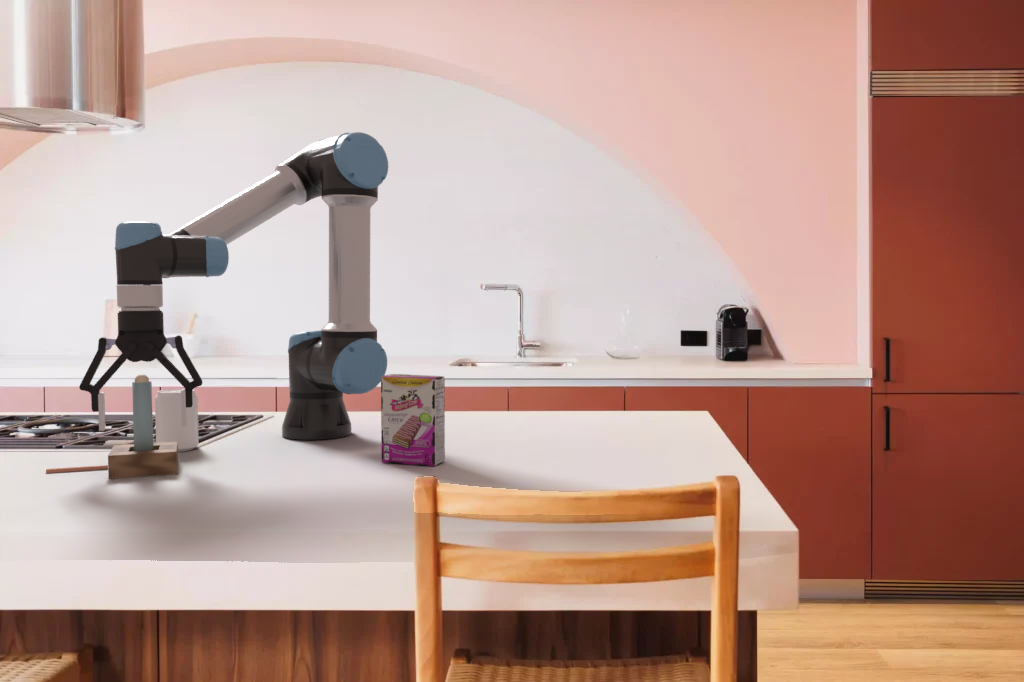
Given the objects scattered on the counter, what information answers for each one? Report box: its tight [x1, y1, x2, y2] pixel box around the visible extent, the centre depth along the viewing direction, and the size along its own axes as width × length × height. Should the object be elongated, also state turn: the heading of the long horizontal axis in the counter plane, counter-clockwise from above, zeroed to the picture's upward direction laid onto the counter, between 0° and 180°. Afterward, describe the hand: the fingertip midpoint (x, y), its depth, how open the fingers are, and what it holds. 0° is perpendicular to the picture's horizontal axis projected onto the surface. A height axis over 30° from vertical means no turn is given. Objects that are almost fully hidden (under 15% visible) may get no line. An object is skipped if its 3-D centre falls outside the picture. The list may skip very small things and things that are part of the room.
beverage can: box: [154, 388, 199, 453], centre depth 181 cm, size 8×8×12 cm
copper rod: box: [45, 464, 108, 474], centre depth 160 cm, size 10×1×1 cm, turn 109°
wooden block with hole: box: [107, 442, 179, 480], centre depth 160 cm, size 11×11×4 cm
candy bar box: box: [380, 373, 446, 467], centre depth 165 cm, size 11×5×16 cm, turn 71°
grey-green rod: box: [131, 373, 154, 451], centre depth 159 cm, size 3×3×17 cm
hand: (143, 427), depth 159 cm, fingers open, 13 cm apart
